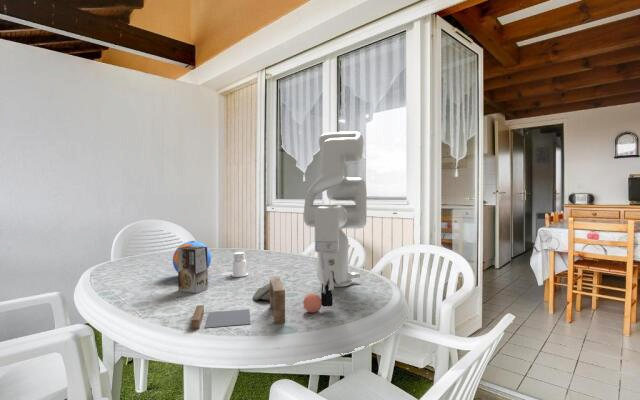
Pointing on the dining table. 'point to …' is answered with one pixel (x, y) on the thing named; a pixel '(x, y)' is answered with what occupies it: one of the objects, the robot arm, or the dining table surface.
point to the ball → (312, 303)
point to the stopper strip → (197, 317)
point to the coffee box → (192, 269)
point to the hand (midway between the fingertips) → (326, 305)
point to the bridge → (277, 300)
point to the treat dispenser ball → (190, 243)
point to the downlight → (239, 265)
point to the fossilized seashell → (262, 293)
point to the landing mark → (228, 318)
